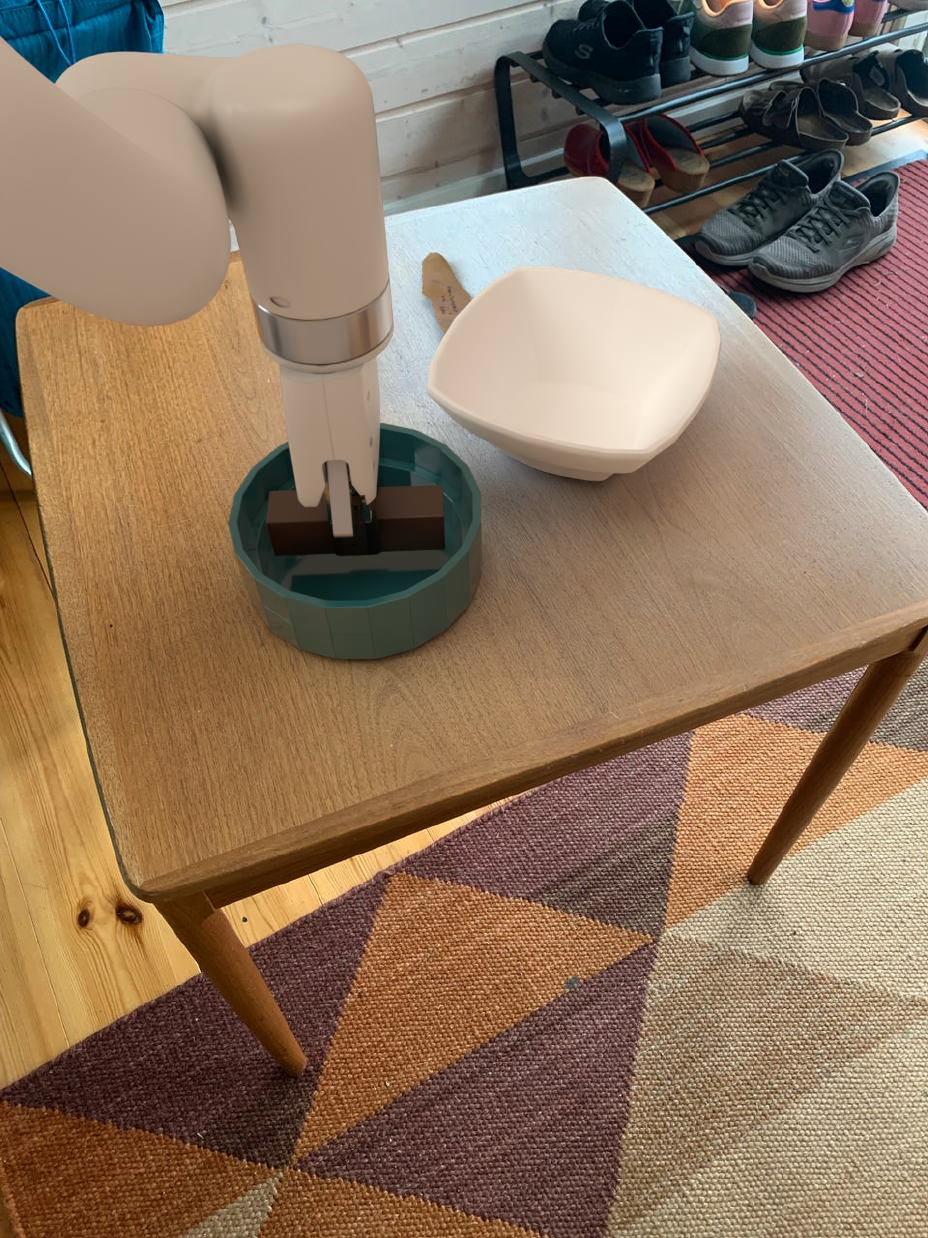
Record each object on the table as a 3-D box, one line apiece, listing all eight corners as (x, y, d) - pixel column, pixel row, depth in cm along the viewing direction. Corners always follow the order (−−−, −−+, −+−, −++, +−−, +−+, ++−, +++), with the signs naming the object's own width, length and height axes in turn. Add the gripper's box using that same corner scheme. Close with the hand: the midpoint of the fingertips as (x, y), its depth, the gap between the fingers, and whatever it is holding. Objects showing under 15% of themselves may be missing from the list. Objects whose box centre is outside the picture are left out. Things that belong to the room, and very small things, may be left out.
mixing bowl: (232, 665, 64) (210, 608, 58) (265, 485, 74) (248, 423, 69) (482, 663, 63) (482, 606, 58) (480, 483, 74) (479, 421, 68)
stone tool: (403, 262, 91) (441, 353, 82) (407, 247, 90) (445, 338, 81) (452, 267, 93) (495, 356, 84) (456, 252, 92) (499, 341, 83)
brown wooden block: (274, 556, 65) (265, 522, 62) (278, 524, 67) (269, 490, 64) (445, 550, 65) (443, 516, 62) (444, 518, 67) (442, 484, 64)
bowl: (401, 480, 74) (392, 396, 67) (503, 333, 85) (506, 248, 78) (648, 562, 68) (667, 480, 62) (724, 394, 79) (747, 308, 73)
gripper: (268, 227, 55) (313, 453, 70) (238, 410, 46) (297, 627, 60) (393, 223, 55) (411, 450, 70) (390, 405, 46) (412, 623, 61)
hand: (358, 530), depth 65 cm, fingers closed on brown wooden block, 3 cm apart
